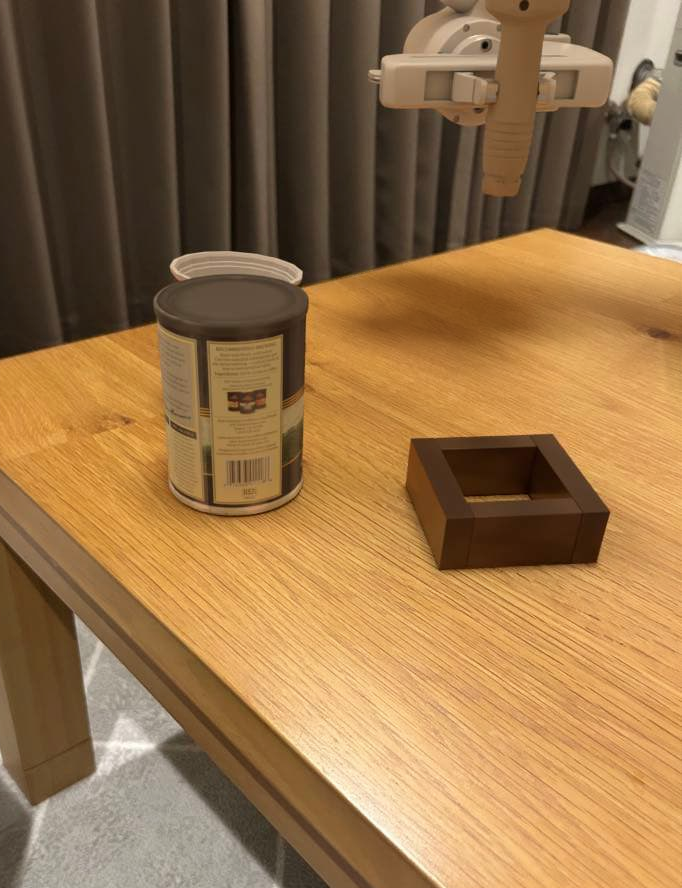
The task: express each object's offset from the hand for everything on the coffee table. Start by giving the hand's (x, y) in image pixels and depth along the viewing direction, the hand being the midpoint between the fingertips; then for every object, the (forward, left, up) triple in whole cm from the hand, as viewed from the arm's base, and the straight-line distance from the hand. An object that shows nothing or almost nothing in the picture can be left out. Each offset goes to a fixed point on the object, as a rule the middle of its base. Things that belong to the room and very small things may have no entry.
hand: (518, 93), depth 70 cm
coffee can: (+24, +20, -24) cm, 40 cm away
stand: (+6, +27, -24) cm, 37 cm away
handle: (0, -1, -8) cm, 8 cm away
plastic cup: (+23, +6, -24) cm, 34 cm away
